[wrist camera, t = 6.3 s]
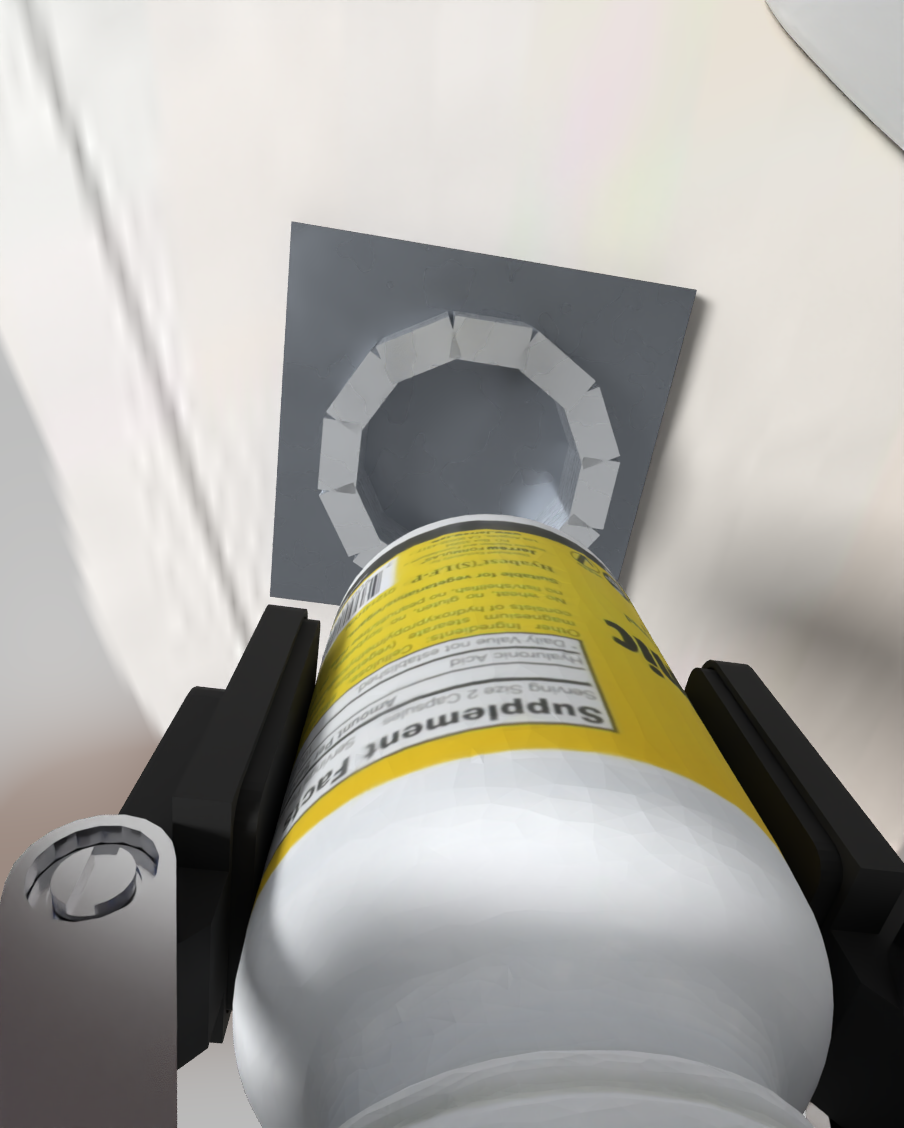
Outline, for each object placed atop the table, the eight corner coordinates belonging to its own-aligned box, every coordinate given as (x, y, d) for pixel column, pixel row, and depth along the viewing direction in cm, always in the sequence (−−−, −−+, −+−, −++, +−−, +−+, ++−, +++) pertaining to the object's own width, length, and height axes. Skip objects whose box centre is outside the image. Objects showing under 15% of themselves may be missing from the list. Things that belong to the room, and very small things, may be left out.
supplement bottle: (645, 739, 14) (1051, 1671, 5) (373, 786, 14) (253, 1743, 5) (616, 473, 11) (1268, 1238, 2) (297, 536, 12) (-159, 1409, 3)
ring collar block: (686, 288, 24) (725, 293, 20) (596, 627, 29) (616, 673, 25) (297, 223, 23) (273, 216, 19) (275, 585, 28) (254, 627, 24)
